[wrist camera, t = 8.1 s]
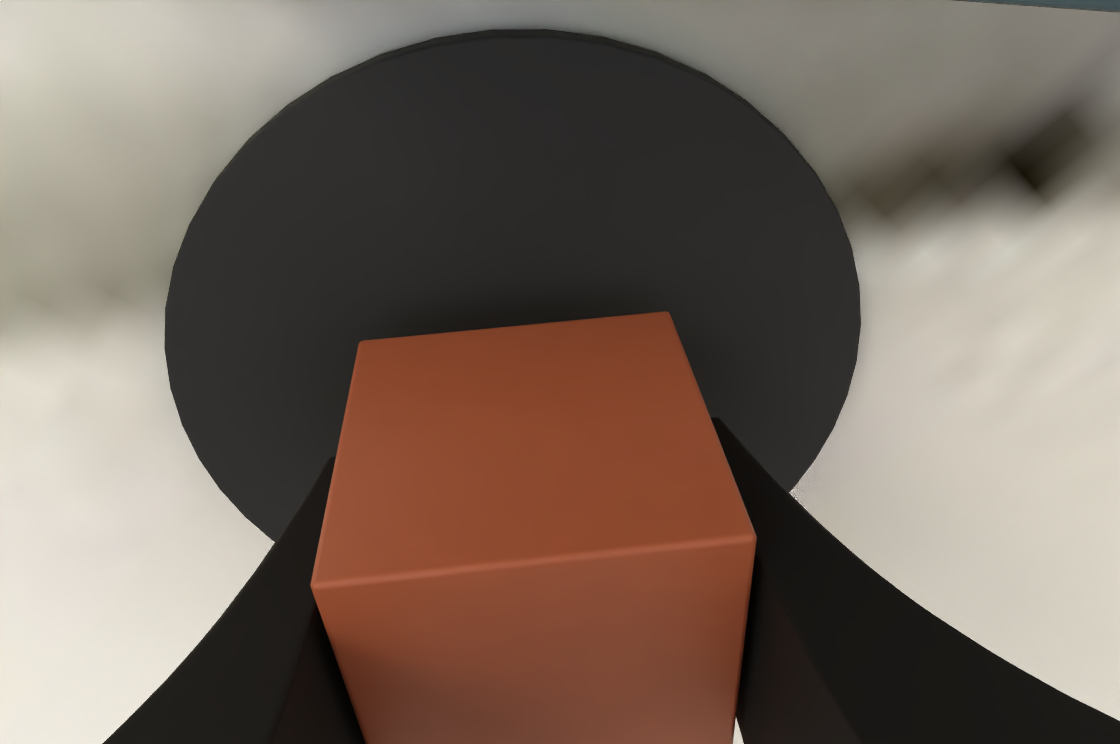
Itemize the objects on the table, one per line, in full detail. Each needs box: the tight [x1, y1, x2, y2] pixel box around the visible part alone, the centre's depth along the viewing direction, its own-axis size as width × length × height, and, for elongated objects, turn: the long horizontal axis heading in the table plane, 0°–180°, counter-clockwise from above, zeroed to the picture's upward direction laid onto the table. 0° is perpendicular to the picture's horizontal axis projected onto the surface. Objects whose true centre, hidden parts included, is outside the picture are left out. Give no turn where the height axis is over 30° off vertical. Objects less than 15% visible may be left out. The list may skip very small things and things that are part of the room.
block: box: [310, 311, 757, 744], centre depth 12 cm, size 5×5×5 cm
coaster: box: [165, 30, 861, 542], centre depth 15 cm, size 12×12×1 cm
